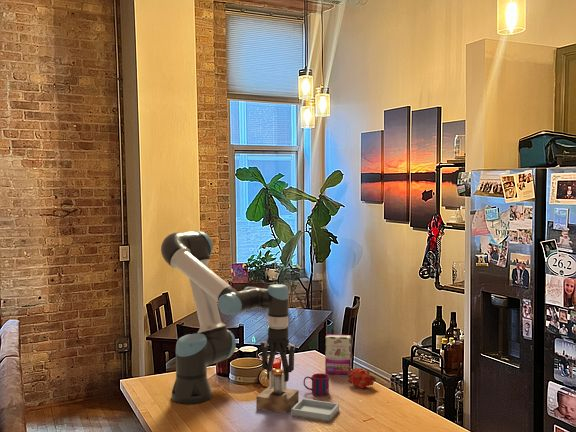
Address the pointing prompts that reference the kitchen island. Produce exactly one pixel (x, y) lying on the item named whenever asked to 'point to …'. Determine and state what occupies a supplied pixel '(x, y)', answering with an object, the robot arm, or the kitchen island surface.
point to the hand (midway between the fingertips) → (277, 388)
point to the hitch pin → (277, 381)
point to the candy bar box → (338, 354)
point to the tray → (315, 410)
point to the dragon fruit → (360, 378)
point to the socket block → (277, 400)
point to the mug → (319, 384)
